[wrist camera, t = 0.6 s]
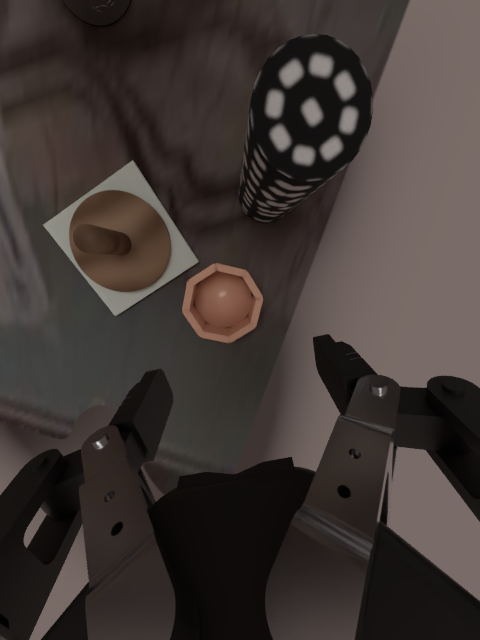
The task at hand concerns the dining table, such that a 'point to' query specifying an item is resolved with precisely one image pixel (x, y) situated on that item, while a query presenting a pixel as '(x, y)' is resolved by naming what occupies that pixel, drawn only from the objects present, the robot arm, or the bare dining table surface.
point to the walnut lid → (119, 241)
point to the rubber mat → (137, 185)
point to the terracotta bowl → (222, 303)
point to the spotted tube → (302, 123)
